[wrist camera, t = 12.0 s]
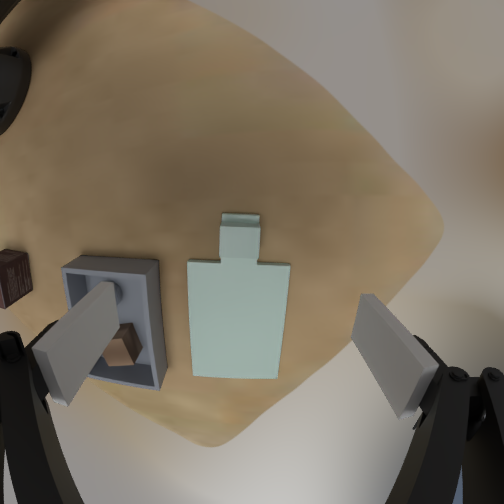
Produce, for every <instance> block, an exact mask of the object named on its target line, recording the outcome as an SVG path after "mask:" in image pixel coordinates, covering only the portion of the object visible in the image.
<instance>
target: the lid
mask: <svg viewBox="0 0 504 504" xmlns="http://www.w3.org/2000/svg"><path fill="white" fill-rule="evenodd" d="M259 217H260V216H259V214H237V213H222V222H221V225H220V245H219V257H221V261H216V260H193V259H189V260H188V262H187V274H188V303H189V324H190V340H191V355H192V368H193V376H205V377H221V378H249V379H277V376H278V369H279V361H280V354H281V346H282V338H283V330H284V321H285V313H286V304H287V294H288V285H289V275H290V264H289V263H266V262H257V259H259V245H260V224H259Z"/></svg>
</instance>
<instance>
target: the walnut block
mask: <svg viewBox="0 0 504 504" xmlns="http://www.w3.org/2000/svg"><path fill="white" fill-rule="evenodd" d="M119 325H120V328H119V329H118V331H117V332H116V334H115V335H114V336H113V338H112V339H111V341H110V342H109V344H108V345H107V347H106V348H105V350H104V351H103V353H102V354H103V356H104V358H105V360H106V362H107V364H108V366H124V365H134V364H135V362H136V360H137V358H138V356H139V354H140V352H141V350H142V348H143V347H142V344H141V342H140V340H139V337H138V335H137V333H136V330H135V328H134V325H133V323H124V324H119Z"/></svg>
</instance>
